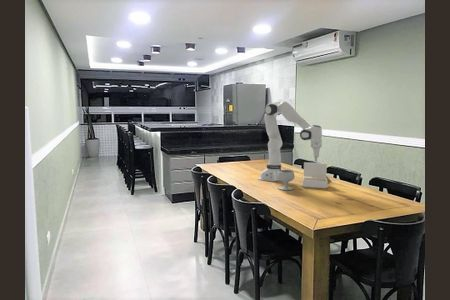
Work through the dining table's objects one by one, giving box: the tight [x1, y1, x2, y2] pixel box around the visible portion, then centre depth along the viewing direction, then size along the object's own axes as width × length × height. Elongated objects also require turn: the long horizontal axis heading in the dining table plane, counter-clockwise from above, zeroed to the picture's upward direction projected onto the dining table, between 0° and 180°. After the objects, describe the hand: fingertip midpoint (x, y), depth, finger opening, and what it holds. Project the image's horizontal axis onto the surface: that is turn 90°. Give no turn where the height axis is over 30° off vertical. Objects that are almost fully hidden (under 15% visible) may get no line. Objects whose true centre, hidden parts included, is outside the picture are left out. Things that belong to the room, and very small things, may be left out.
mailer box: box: [302, 176, 329, 190], centre depth 280 cm, size 20×14×6 cm
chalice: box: [277, 169, 295, 191], centre depth 269 cm, size 14×14×15 cm
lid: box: [303, 162, 328, 178], centre depth 283 cm, size 19×13×1 cm
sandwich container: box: [311, 175, 332, 182], centre depth 303 cm, size 9×15×15 cm, turn 105°
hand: (315, 161), depth 274 cm, fingers closed
